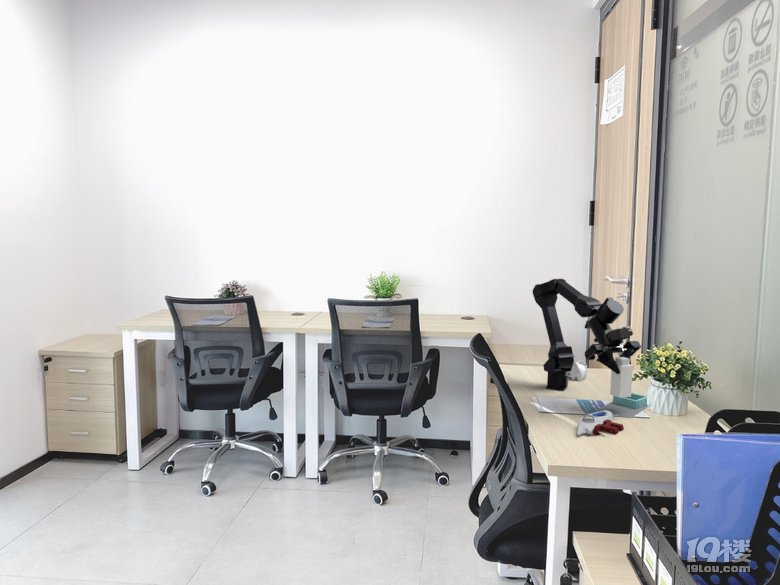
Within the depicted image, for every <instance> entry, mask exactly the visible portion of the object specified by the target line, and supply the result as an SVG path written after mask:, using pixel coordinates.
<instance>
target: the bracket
mask: <svg viewBox="0 0 780 585" xmlns="http://www.w3.org/2000/svg"><path fill="white" fill-rule="evenodd" d="M624 429H625V426H624V425H623V423H618V422H614V421H611V420H608V419H607V420H605V421H603V425H602V424H597V425H596V426H595V427H594V429H593V434H592V435H593V436H595V437H597V436H600V435H603V436H604V434H603V433H604V432H605V433H611V434H613V435H618V434H619V432H622V431H624ZM600 431H601V432H603V433H601V432H600ZM599 434H600V435H599Z"/></svg>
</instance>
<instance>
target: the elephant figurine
mask: <svg viewBox="0 0 780 585" xmlns="http://www.w3.org/2000/svg"><path fill="white" fill-rule="evenodd" d="M587 369H588V365H587V363H586V361H585V360H583V359H579V360H578V361H576V362H574V363H573V366H572V369H571V372H567V376H568V377H571V380H572V381H577V382H582V381H583V380H585V379H587V375H588V372H589V370H587Z"/></svg>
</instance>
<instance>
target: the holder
mask: <svg viewBox="0 0 780 585" xmlns="http://www.w3.org/2000/svg"><path fill="white" fill-rule="evenodd" d="M612 397H613V398H612V401H613V403H615V404H619V405H623V406H627V407H631V408H635V409H637V408H640V407H643V406H645V405H647V395H643V394H639V393H634V392H631V397H623V398H619V397H616V396H614V395H612Z"/></svg>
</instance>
